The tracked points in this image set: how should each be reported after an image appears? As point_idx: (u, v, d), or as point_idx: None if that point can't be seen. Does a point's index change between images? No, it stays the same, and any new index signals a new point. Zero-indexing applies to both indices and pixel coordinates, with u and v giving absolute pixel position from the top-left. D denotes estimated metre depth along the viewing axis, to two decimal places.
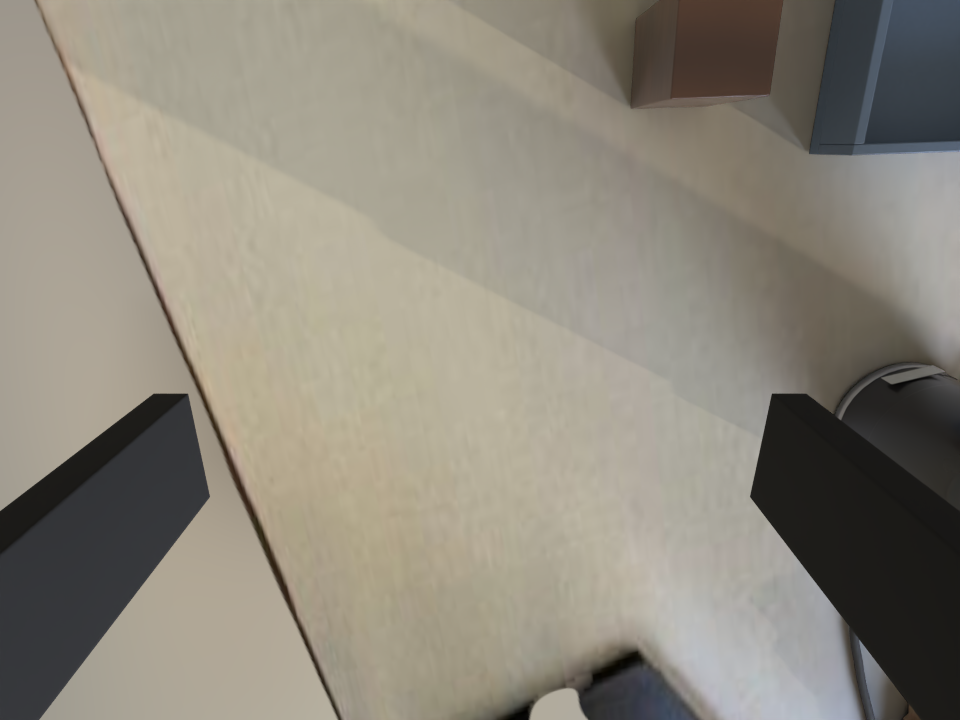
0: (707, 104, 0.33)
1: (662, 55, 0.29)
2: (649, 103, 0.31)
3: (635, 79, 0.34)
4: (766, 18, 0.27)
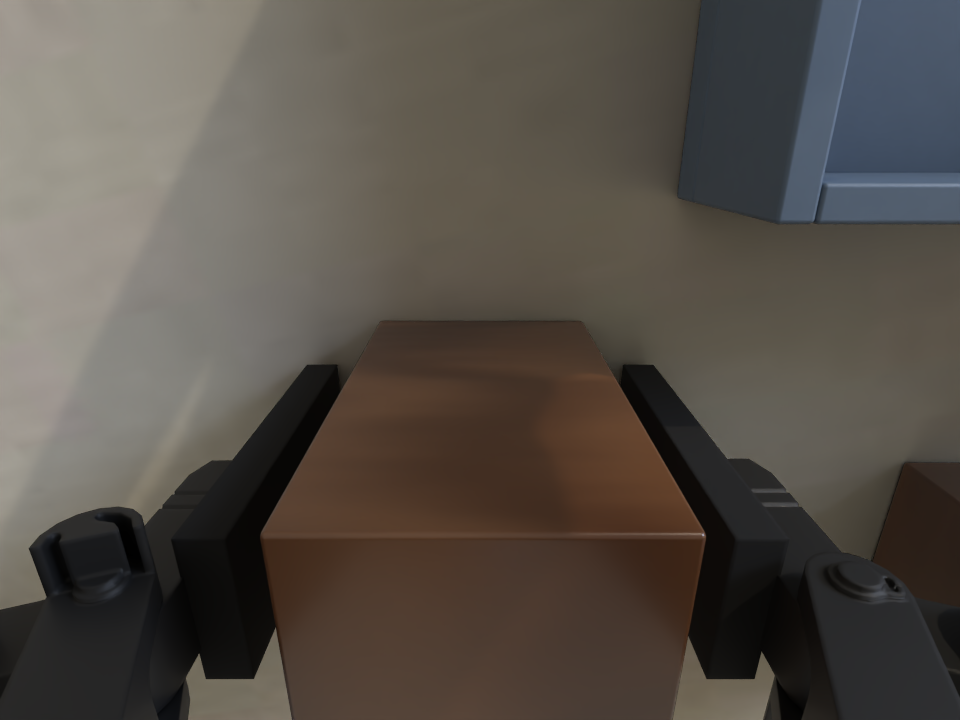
0: None
1: None
2: None
3: None
4: None
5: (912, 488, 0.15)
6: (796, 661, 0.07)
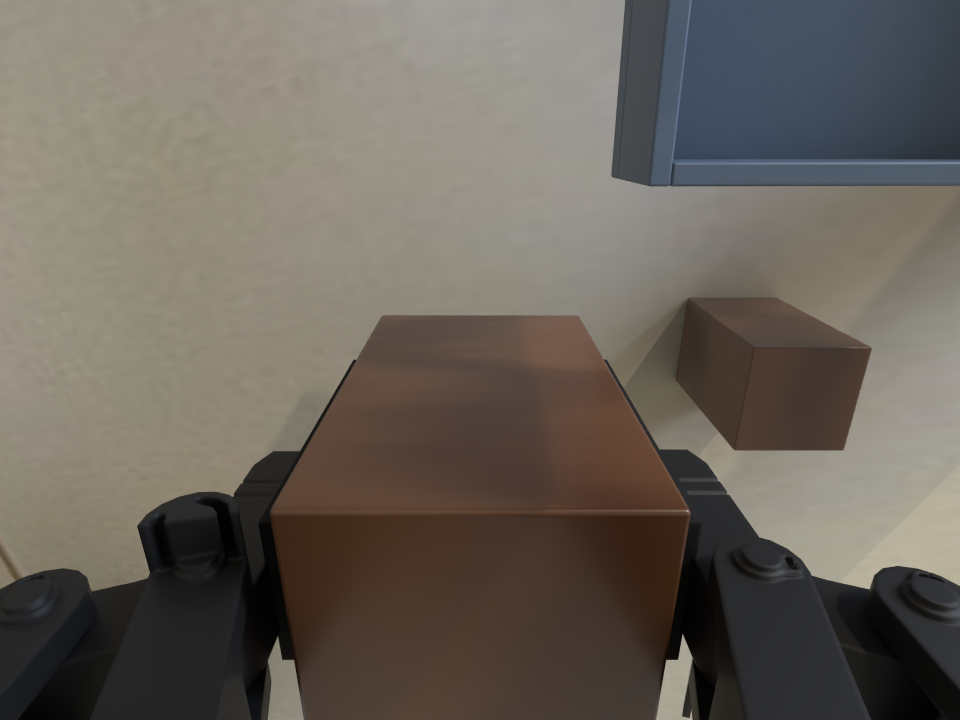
0: None
1: None
2: None
3: None
4: (788, 363, 0.23)
5: (689, 309, 0.30)
6: (709, 643, 0.08)
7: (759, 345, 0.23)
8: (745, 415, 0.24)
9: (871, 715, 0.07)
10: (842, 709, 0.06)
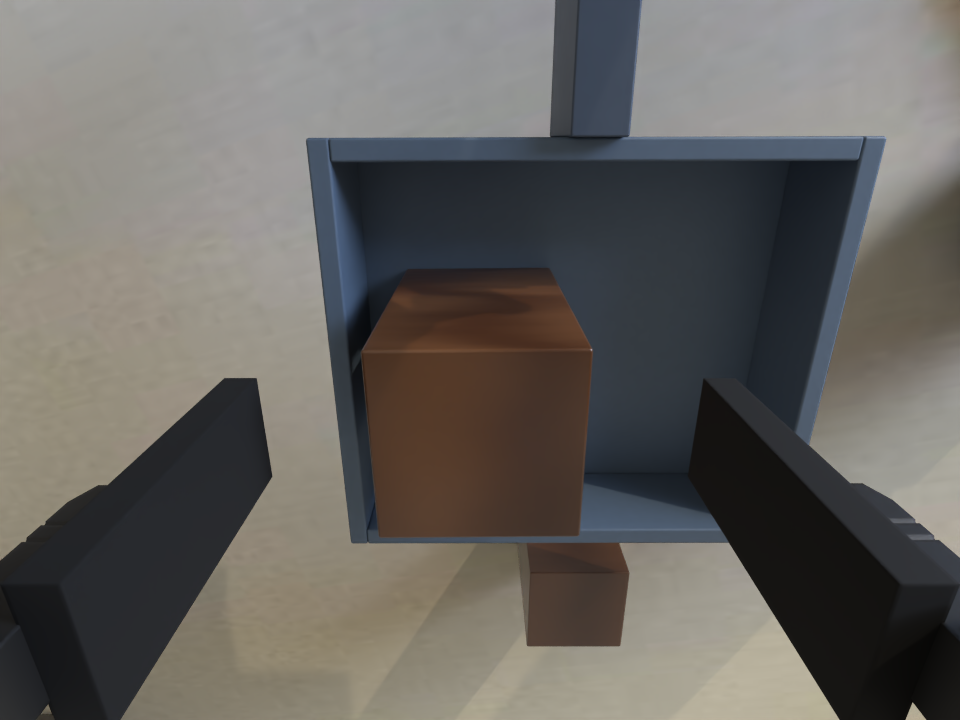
0: None
1: None
2: None
3: None
4: (561, 583, 0.28)
5: None
6: None
7: (537, 568, 0.28)
8: (531, 621, 0.29)
9: None
10: None
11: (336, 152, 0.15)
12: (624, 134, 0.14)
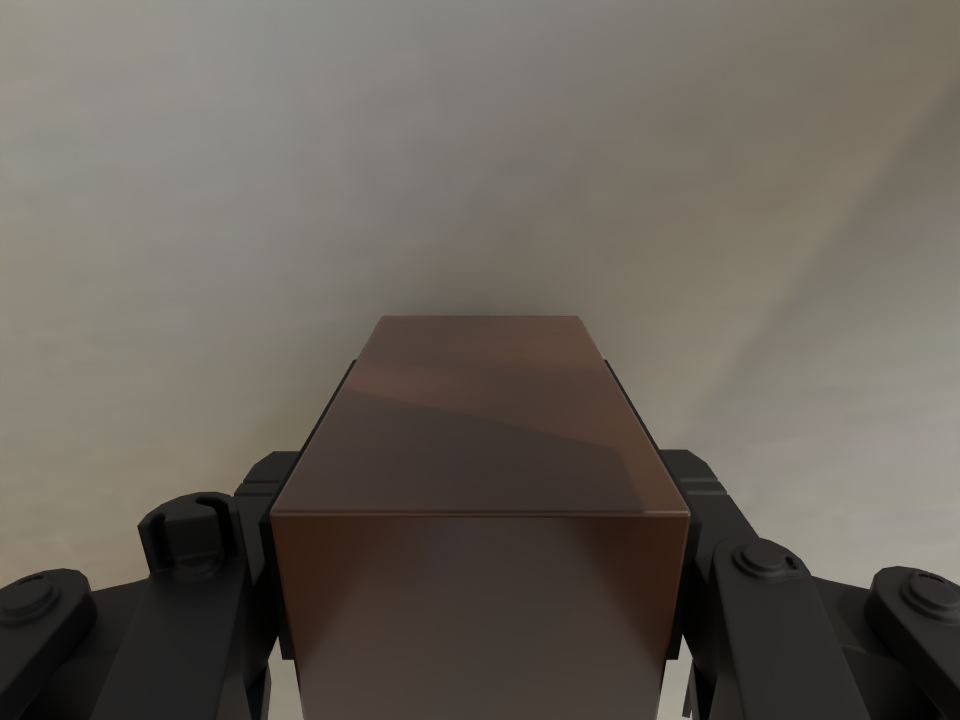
0: None
1: None
2: None
3: None
4: (407, 560, 0.07)
5: None
6: (709, 643, 0.08)
7: (305, 497, 0.07)
8: (312, 704, 0.08)
9: (871, 715, 0.07)
10: (842, 709, 0.06)
11: None
12: None
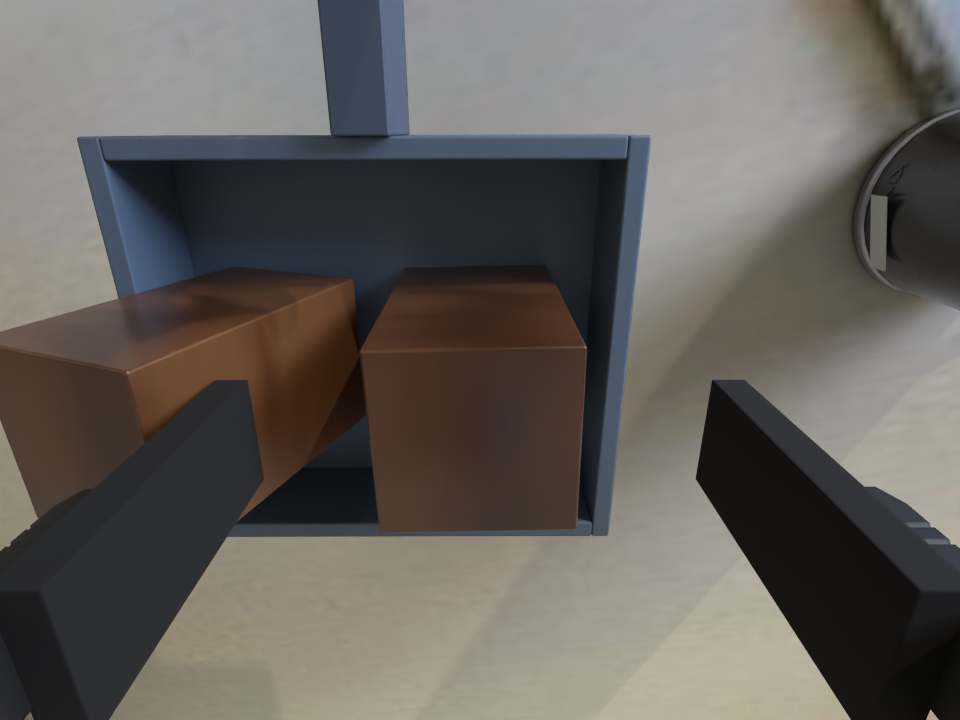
0: None
1: None
2: None
3: None
4: (433, 378, 0.12)
5: None
6: None
7: (378, 345, 0.12)
8: (379, 474, 0.13)
9: None
10: None
11: (108, 151, 0.15)
12: (384, 133, 0.14)
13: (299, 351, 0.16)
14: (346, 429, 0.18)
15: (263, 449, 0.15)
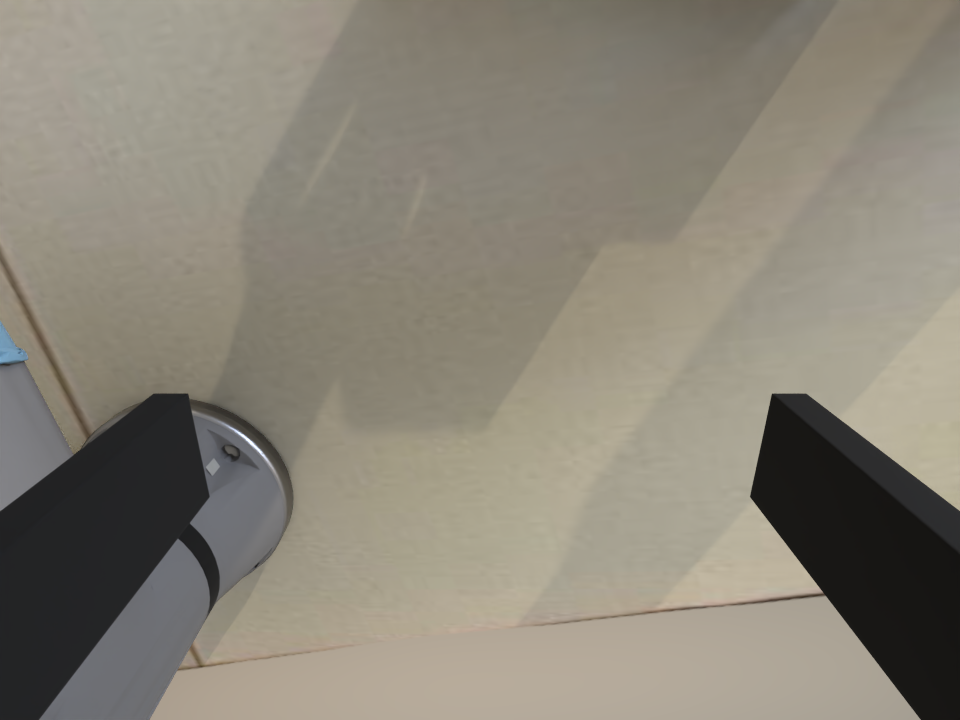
0: None
1: None
2: None
3: None
4: None
5: None
6: None
7: None
8: None
9: None
10: None
11: None
12: None
13: None
14: None
15: None
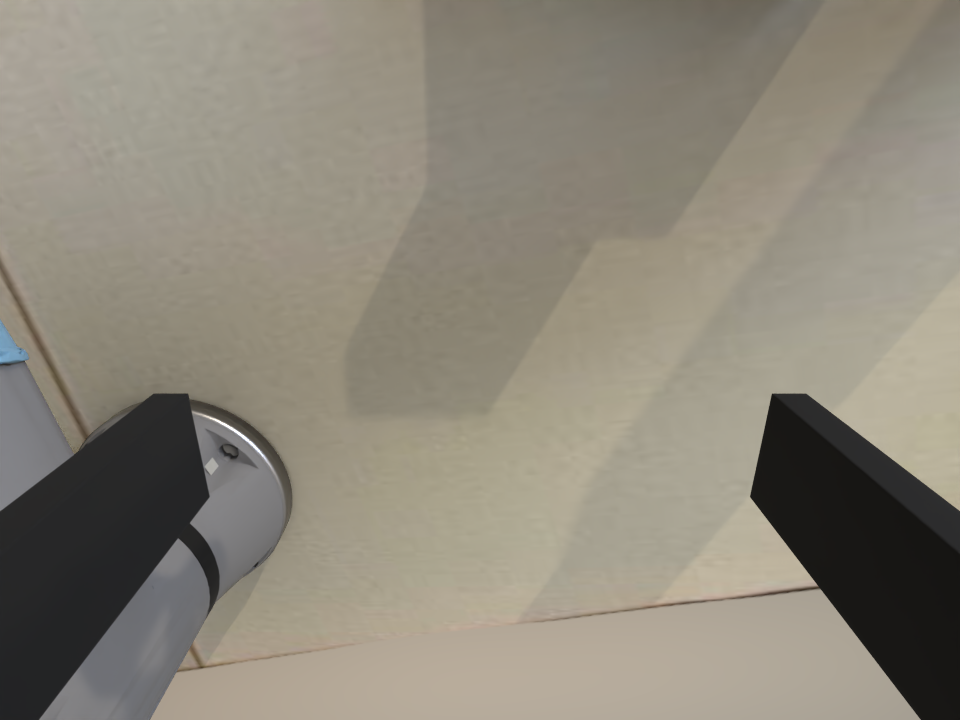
0: None
1: None
2: None
3: None
4: None
5: None
6: None
7: None
8: None
9: None
10: None
11: None
12: None
13: None
14: None
15: None
